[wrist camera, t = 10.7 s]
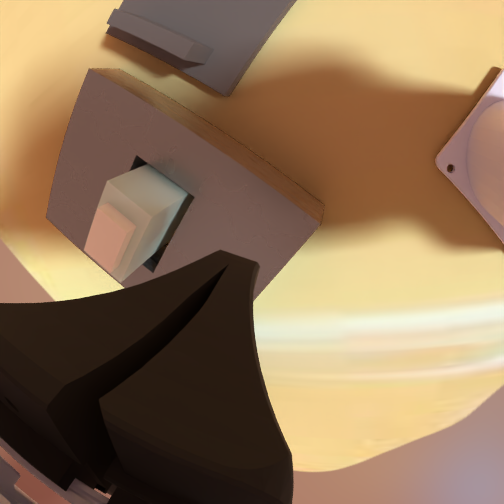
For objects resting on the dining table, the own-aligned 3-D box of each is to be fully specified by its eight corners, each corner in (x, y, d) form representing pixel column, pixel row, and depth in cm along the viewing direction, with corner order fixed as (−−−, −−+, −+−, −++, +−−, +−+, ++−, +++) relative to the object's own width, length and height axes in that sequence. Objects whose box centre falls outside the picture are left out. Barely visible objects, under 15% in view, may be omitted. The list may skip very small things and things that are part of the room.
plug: (204, 183, 19) (142, 223, 13) (170, 239, 22) (112, 290, 16) (168, 156, 19) (96, 185, 13) (139, 213, 21) (74, 256, 16)
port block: (324, 205, 18) (320, 226, 15) (222, 324, 24) (206, 353, 21) (119, 68, 17) (85, 68, 14) (71, 204, 23) (43, 219, 20)
